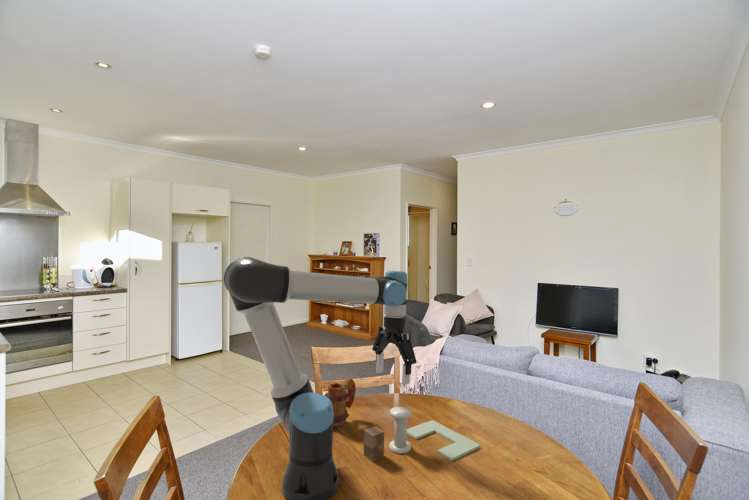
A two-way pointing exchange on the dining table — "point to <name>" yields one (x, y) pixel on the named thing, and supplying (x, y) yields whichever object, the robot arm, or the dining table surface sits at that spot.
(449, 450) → the notched board
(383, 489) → the dining table surface
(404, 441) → the knob
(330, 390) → the mug
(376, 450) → the block
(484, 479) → the dining table surface
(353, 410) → the dining table surface
